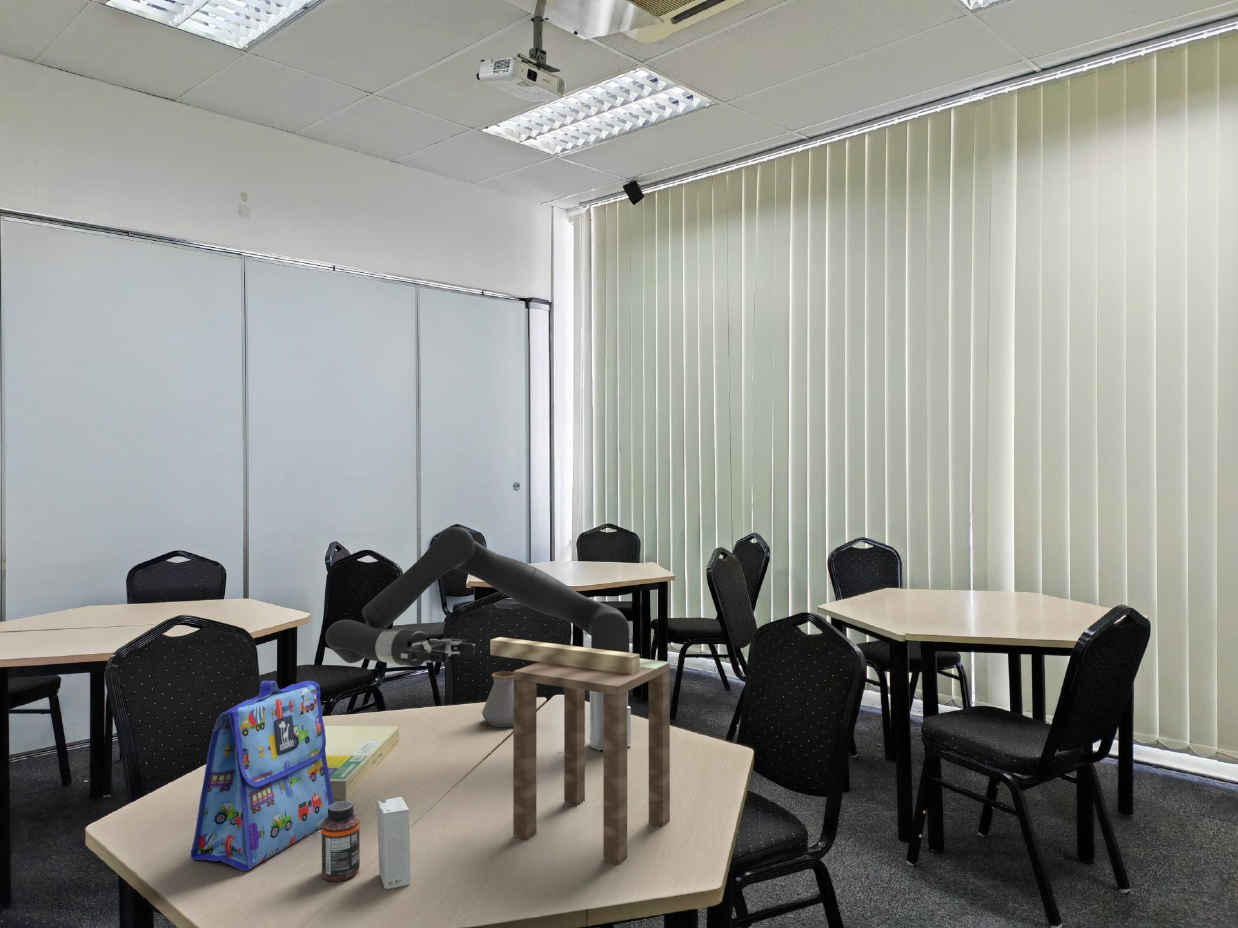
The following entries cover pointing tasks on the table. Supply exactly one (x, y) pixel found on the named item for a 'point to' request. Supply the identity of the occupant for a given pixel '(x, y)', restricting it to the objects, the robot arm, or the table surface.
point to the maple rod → (566, 655)
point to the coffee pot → (500, 700)
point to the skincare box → (394, 843)
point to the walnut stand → (574, 744)
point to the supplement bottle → (340, 842)
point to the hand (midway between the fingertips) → (461, 653)
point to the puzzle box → (356, 754)
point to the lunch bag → (264, 777)
